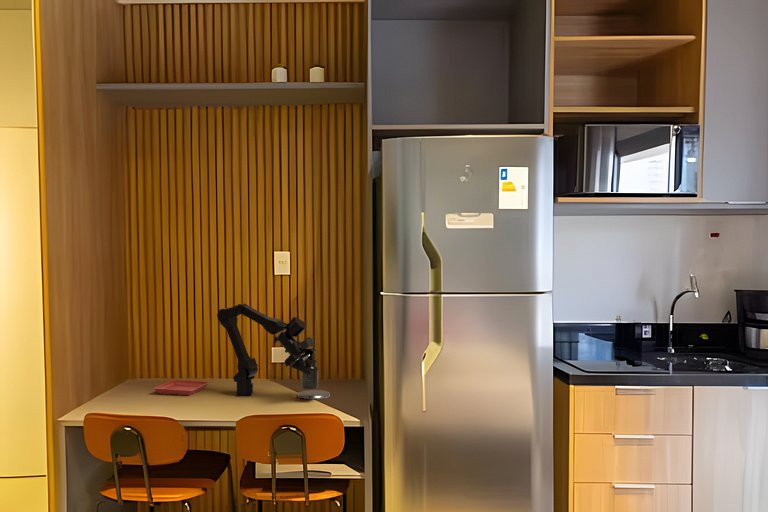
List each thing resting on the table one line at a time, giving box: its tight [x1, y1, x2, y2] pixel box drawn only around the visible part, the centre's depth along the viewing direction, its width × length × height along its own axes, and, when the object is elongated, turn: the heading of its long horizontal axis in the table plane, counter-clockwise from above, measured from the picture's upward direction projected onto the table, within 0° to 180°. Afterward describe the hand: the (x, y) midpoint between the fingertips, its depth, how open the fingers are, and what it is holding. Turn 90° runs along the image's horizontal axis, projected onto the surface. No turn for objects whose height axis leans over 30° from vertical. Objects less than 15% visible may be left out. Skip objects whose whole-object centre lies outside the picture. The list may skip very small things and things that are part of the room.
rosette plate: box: [297, 389, 331, 400], centre depth 283 cm, size 14×14×1 cm
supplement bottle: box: [301, 358, 319, 390], centre depth 273 cm, size 7×7×12 cm
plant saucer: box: [153, 379, 210, 396], centre depth 291 cm, size 18×18×3 cm
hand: (313, 372), depth 273 cm, fingers closed on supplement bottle, 7 cm apart
